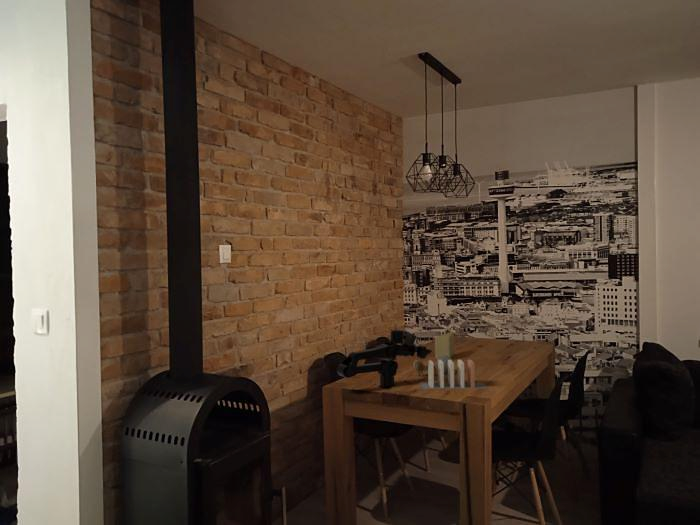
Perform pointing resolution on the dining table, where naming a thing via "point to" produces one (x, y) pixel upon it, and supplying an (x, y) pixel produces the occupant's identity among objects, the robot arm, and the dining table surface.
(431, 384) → the tile
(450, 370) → the tile
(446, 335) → the cheese
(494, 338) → the dining table surface
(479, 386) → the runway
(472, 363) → the tile
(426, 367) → the lion figurine
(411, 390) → the dining table surface
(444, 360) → the decorative ball
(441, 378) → the tile
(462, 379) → the tile
